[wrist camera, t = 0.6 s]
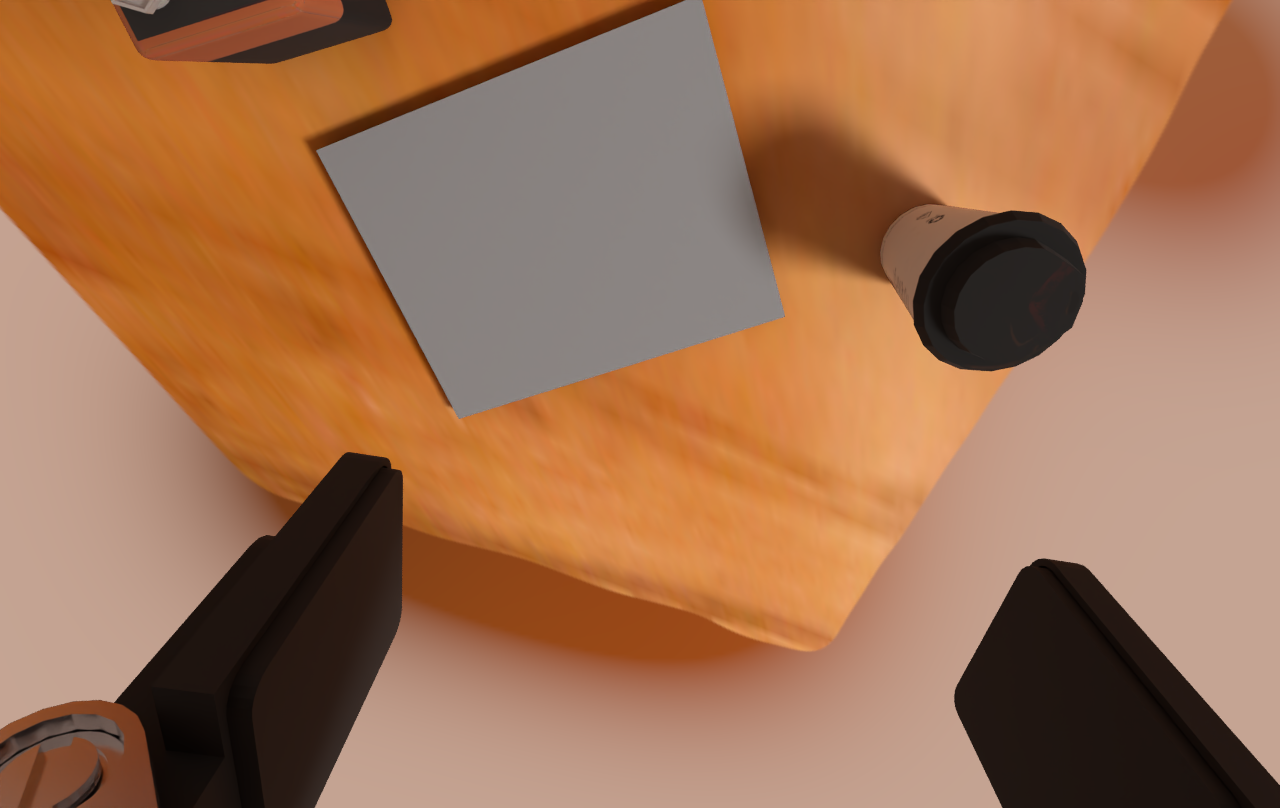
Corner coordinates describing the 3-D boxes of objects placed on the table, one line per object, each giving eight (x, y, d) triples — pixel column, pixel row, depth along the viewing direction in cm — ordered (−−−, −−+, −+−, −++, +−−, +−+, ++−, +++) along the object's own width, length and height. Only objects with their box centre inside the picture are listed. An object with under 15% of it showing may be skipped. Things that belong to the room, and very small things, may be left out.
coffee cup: (853, 314, 37) (916, 390, 28) (862, 185, 34) (935, 225, 25) (980, 305, 36) (1085, 379, 27) (1000, 174, 33) (1126, 210, 24)
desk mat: (699, -4, 30) (700, -6, 29) (782, 310, 37) (785, 316, 36) (325, 148, 33) (315, 150, 33) (463, 411, 40) (458, 418, 39)
